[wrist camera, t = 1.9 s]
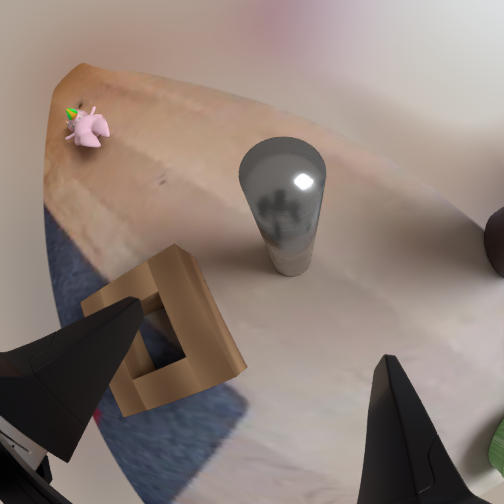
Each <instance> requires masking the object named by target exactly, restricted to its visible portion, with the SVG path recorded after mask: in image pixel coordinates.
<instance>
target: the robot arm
mask: <svg viewBox="0 0 504 504" xmlns="http://www.w3.org/2000/svg"><path fill="white" fill-rule="evenodd" d="M143 319H144V311H143V307H142V304H141V301H140V299H139V298H137V297H134V296H128V297H126V298H124V299H122V300H120V301H118V302H116V303H113V304H111V305H109V306H107V307H105V308H103V309H101V310H99V311H97V312H95V313H93V314H91V315H89V316H86V317H84V318H82V319H80V320H78V321H76V322H74V323H72V324H70V325H68V326H66V327H64V328H62V329H60V330H58V331H57V332H54V333H52V334H50V335H47V336H45V337H43V338H41V339H39V340H36V341H34V342H31V343H29V344H27V345H24V346H21V347H19V348H16V349H14V350H11V351H8V352H0V500H1V501H2V502H3V503H4V504H72V503H71V502H70V501H68V500H67V499H66V498H65V497H64V496H62V495H61V494H60V493H59V492H57V491H56V490H55V489H54V488H53V487H51V486H50V485H49V484H50V482H51V481H52V474H51V471H50V466H49V460H48V456H47V455H46V454H47V452H50V453H51V454H53V455H55V456H56V457H58V458H60V459H61V460H63V461H65V462H66V463H68V462H69V461H70V459H71V457H72V455H73V452H74V450H75V449H76V447H77V445H78V442H79V440H80V439H81V437H82V434H83V433H84V431H85V428H86V426H87V425H88V423H89V421H90V419H91V417H92V415H93V413H94V411H95V409H96V407H97V406H98V404H99V402H100V400H101V398H102V396H103V395H104V393H105V391H106V389H107V387H108V386H109V384H110V382H111V380H112V379H113V377H114V375H115V373H116V371H117V370H118V368H119V366H120V365H121V363H122V361H123V359H124V358H125V356H126V354H127V352H128V351H129V349H130V347H131V345H132V343H133V340H134V338H135V336H136V334H137V332H138V330H139V327H140V325H141V323H142V321H143ZM357 504H491V503H489V502H487V501H485V500H483V499H481V498H479V497H477V496H476V495H474V494H473V493H472V492H471V491H470V490H469V489H468V487H467V486H466V484H465V483H464V481H463V479H462V477H461V476H460V474H459V472H458V471H457V469H456V467H455V466H454V464H453V462H452V460H451V459H450V457H449V455H448V453H447V451H446V449H445V447H444V445H443V443H442V441H441V439H440V437H439V435H438V434H437V431H436V429H435V427H434V425H433V423H432V421H431V419H430V417H429V415H428V413H427V412H426V410H425V408H424V406H423V404H422V402H421V400H420V398H419V396H418V395H417V393H416V391H415V389H414V387H413V386H412V384H411V382H410V380H409V378H408V377H407V375H406V373H405V371H404V370H403V368H402V366H401V364H400V363H399V361H398V359H397V358H396V356H394V355H387V354H385V355H383V357H382V358H381V360H380V361H379V363H378V365H377V366H376V368H375V370H374V375H373V382H372V390H371V396H370V403H369V409H368V419H367V433H366V444H365V454H364V462H363V470H362V477H361V484H360V490H359V496H358V501H357Z"/></svg>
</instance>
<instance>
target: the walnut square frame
mask: <svg viewBox="0 0 504 504" xmlns="http://www.w3.org/2000/svg"><path fill="white" fill-rule="evenodd" d="M128 296H134V297H137V298H139V299H140V301H141V304H142V307H143V311H144V316H146V315H148V314H149V313H151V312H153V311H155V310H157V309H159V308H161V307H163V306H164V307H165V310H166V312H167V315H168V317H169V319H170V322H171V324H172V326H173V329H174V331H175V333H176V335H177V338H178V340H179V342H180V344H181V346H182V349H183V351H184V353H185V355H186V358H184V359H182V360H179V361H177V362H175V363H172V364H170V365H168V366H165V367H163V368H161V369H158V370H156V368H155V366H154V364H153V362H152V359H151V357H150V355H149V353H148V350H147V348H146V345H145V343H144V341H143V338H142V336H141V333H140V331H139V330H138V332H137V334H136V336H135V338H134V340H133V343H132V345H131V347H130V349H129V351H128V352H127V354H126V356H125V358H124V359H123V361H122V363H121V365H120V366H119V368H118V370H117V371H116V373H115V375H114V377H113V379H112V380H111V382H110V384H109V386H110V389H111V391H112V393H113V395H114V397H115V400H116V402H117V404H118V406H119V408H120V410H121V412H122V414H123V416H124V417H127V416H130V415H133V414H137V413H140V412H143V411H147V410H150V409H153V408H156V407H159V406H162V405H165V404H168V403H171V402H174V401H176V400H179V399H182V398H185V397H187V396H190V395H193V394H195V393H198V392H201V391H203V390H206V389H208V388H211V387H213V386H216V385H218V384H220V383H223V382H225V381H228V380H230V379H232V378H234V377H236V376H238V375H239V374H240V373H241V372H242V371H243V370H245V369H246V368H247V365H246V363H245V361H244V360H243V358H242V356H241V354H240V352H239V350H238V348H237V346H236V344H235V342H234V340H233V338H232V336H231V334H230V332H229V330H228V328H227V326H226V324H225V322H224V320H223V318H222V316H221V314H220V312H219V310H218V307H217V305H216V303H215V301H214V299H213V297H212V295H211V293H210V291H209V288H208V286H207V284H206V282H205V280H204V278H203V275H202V273H201V271H200V269H199V267H198V264H197V262H196V260H195V258H194V257H193V256H192V255H190V254H189V253H187V252H186V251H184V250H183V249H181V248H180V247H178V246H177V245H175V244H173V245H172V246H170V247H168V248H167V249H165V250H163V251H162V252H160V253H158V254H157V255H155V256H153V257H152V258H150V259H148V260H147V261H145V262H143V263H142V264H140V265H138V266H137V267H135V268H134V269H132V270H130V271H129V272H127V273H125V274H124V275H122V276H121V277H119V278H117V279H116V280H114V281H113V282H111V283H110V284H108V285H106V286H105V287H103V288H102V289H100V290H99V291H97V292H96V293H94V294H92V295H91V296H89V297H88V298H86V299H85V300H83V301H82V302H81V306H82V310H83V313H84V317H86V316H89V315H91V314H93V313H95V312H97V311H99V310H101V309H103V308H105V307H107V306H109V305H111V304H113V303H116V302H118V301H120V300H122V299H124V298H126V297H128Z"/></svg>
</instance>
